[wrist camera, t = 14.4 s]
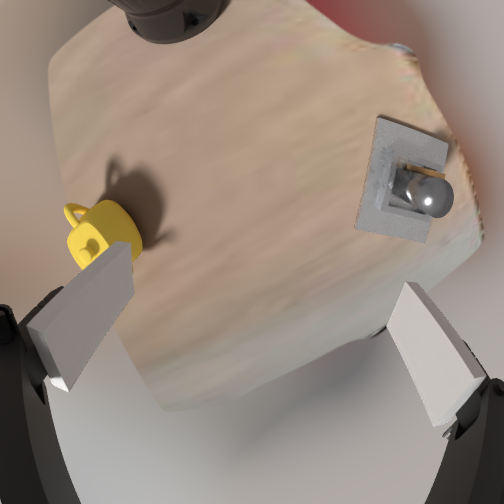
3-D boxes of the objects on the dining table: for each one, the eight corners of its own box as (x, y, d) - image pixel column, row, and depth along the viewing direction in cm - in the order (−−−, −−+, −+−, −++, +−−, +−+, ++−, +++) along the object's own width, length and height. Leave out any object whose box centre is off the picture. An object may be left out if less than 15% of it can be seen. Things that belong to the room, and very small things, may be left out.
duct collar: (376, 117, 35) (385, 116, 32) (445, 143, 36) (457, 145, 32) (353, 227, 43) (360, 234, 39) (422, 240, 43) (431, 248, 40)
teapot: (170, 260, 47) (148, 293, 37) (129, 286, 49) (103, 319, 39) (111, 174, 41) (74, 188, 31) (75, 209, 43) (38, 229, 34)
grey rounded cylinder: (390, 197, 39) (419, 214, 30) (396, 160, 37) (428, 168, 28) (416, 202, 39) (448, 220, 30) (422, 167, 37) (457, 178, 28)
